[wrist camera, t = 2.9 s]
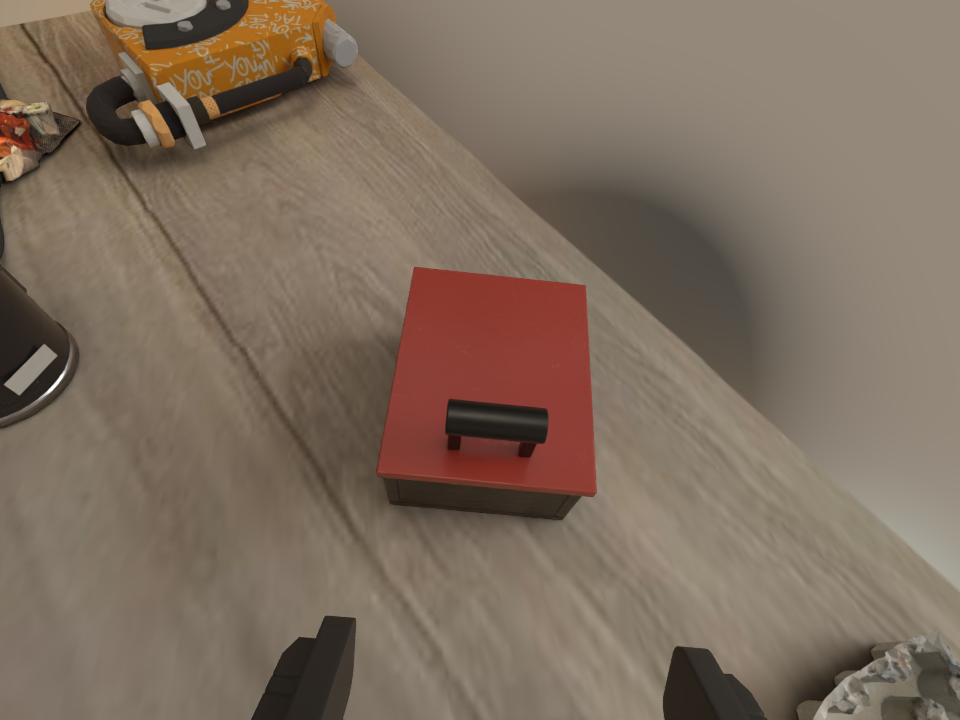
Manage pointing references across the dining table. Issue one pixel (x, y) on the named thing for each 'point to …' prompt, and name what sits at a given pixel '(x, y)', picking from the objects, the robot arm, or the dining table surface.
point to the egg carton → (895, 685)
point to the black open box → (479, 499)
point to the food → (28, 135)
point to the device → (207, 61)
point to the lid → (492, 385)
